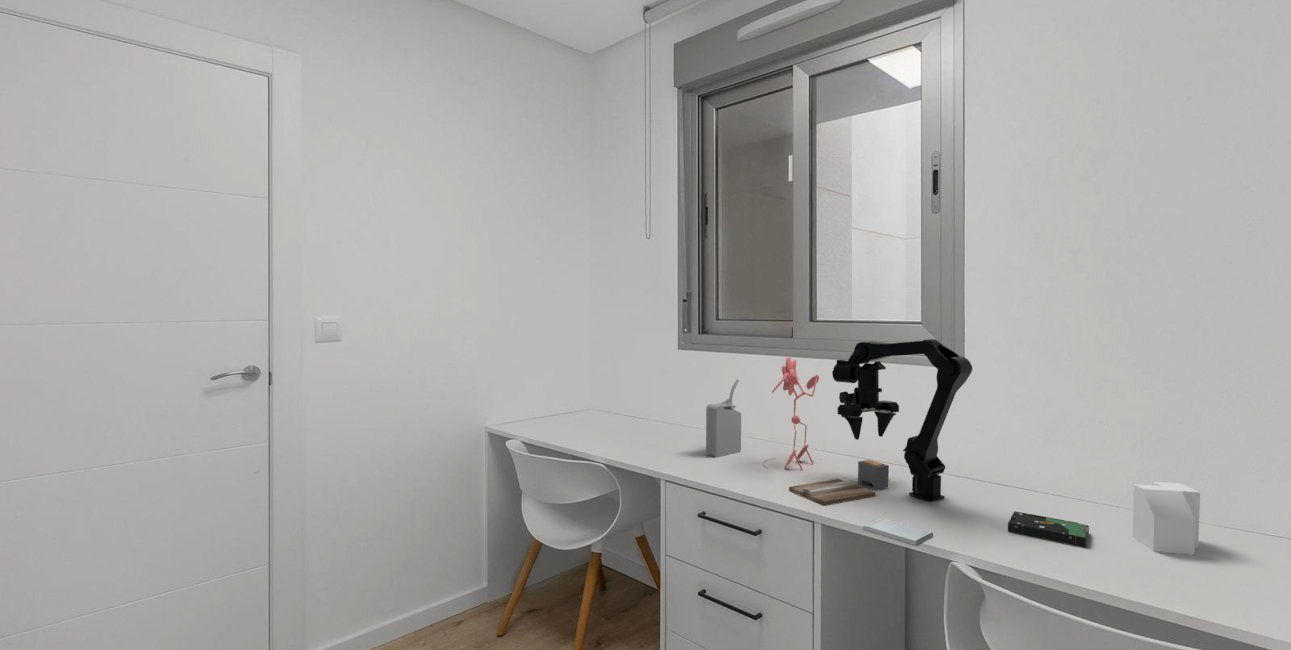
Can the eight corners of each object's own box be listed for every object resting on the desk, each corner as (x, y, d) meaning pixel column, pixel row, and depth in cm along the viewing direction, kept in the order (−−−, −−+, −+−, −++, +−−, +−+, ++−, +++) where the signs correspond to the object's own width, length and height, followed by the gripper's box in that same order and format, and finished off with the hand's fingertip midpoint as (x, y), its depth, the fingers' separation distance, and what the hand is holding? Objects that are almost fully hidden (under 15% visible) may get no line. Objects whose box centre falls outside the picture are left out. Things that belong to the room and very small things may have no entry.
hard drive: (933, 531, 137) (881, 516, 146) (915, 540, 132) (863, 524, 141) (933, 539, 137) (881, 523, 146) (915, 548, 132) (862, 531, 141)
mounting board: (875, 495, 165) (875, 488, 165) (824, 505, 157) (824, 497, 157) (838, 482, 178) (838, 475, 178) (789, 490, 170) (789, 483, 170)
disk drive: (1007, 534, 140) (1087, 550, 131) (1007, 522, 139) (1087, 537, 130) (1013, 522, 148) (1088, 535, 139) (1013, 510, 148) (1089, 523, 139)
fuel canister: (735, 448, 219) (735, 378, 218) (745, 450, 216) (746, 380, 215) (705, 454, 209) (705, 382, 209) (716, 457, 206) (716, 383, 205)
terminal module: (888, 487, 173) (888, 464, 173) (876, 489, 171) (877, 466, 171) (869, 481, 179) (869, 458, 179) (857, 483, 177) (858, 460, 177)
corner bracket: (1178, 536, 138) (1180, 483, 137) (1212, 556, 126) (1215, 499, 126) (1124, 531, 140) (1125, 480, 139) (1153, 551, 129) (1155, 495, 128)
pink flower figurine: (825, 459, 204) (824, 354, 203) (794, 476, 183) (793, 360, 182) (782, 453, 213) (781, 353, 212) (748, 469, 192) (746, 358, 191)
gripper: (871, 380, 189) (871, 430, 189) (824, 383, 181) (824, 436, 181) (900, 383, 179) (900, 436, 179) (851, 387, 171) (851, 443, 171)
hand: (868, 437), depth 178 cm, fingers open, 9 cm apart
